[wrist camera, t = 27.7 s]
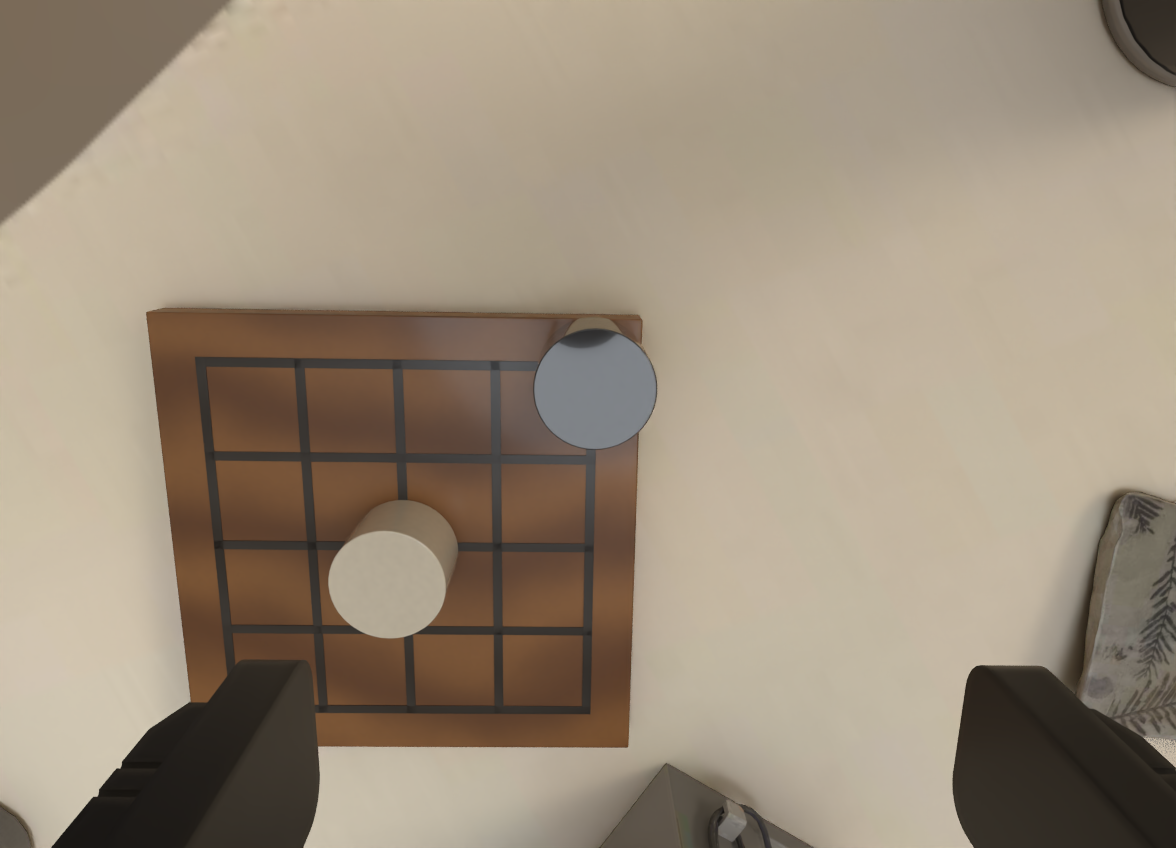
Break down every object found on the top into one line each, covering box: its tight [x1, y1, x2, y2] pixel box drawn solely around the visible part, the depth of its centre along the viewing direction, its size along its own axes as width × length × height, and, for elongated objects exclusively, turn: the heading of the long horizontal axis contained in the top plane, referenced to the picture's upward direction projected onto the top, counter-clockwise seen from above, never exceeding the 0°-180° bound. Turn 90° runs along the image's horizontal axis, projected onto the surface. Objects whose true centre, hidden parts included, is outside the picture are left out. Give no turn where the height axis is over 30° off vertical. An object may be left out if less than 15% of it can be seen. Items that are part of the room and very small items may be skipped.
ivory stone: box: [328, 500, 458, 638], centre depth 34 cm, size 5×5×4 cm
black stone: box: [533, 317, 657, 450], centre depth 32 cm, size 5×5×4 cm
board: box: [146, 308, 642, 747], centre depth 36 cm, size 20×20×2 cm
